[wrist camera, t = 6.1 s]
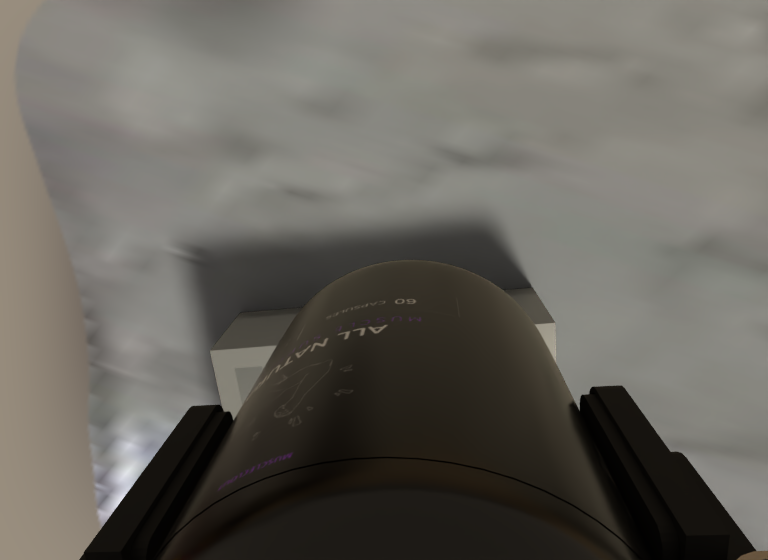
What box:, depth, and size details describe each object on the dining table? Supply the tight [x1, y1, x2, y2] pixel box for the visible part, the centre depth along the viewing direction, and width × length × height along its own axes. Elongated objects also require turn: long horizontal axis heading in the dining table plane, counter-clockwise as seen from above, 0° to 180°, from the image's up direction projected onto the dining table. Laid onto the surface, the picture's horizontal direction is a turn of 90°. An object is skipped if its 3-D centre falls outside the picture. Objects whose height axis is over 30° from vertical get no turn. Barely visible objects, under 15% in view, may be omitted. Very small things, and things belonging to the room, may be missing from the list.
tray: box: [210, 288, 556, 420], centre depth 31 cm, size 16×15×5 cm
